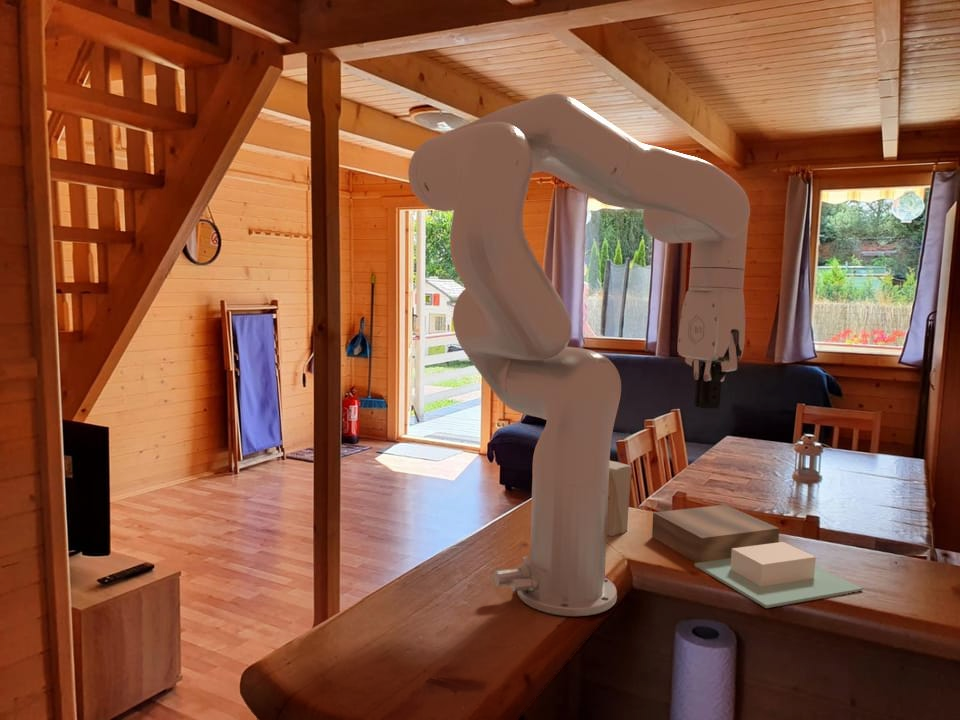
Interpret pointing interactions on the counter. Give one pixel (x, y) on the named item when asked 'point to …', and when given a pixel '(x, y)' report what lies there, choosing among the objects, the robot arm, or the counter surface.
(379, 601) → the counter surface
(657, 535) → the plate
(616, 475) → the box
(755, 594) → the mat
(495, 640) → the counter surface
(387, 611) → the counter surface
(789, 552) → the beige rectangular block
